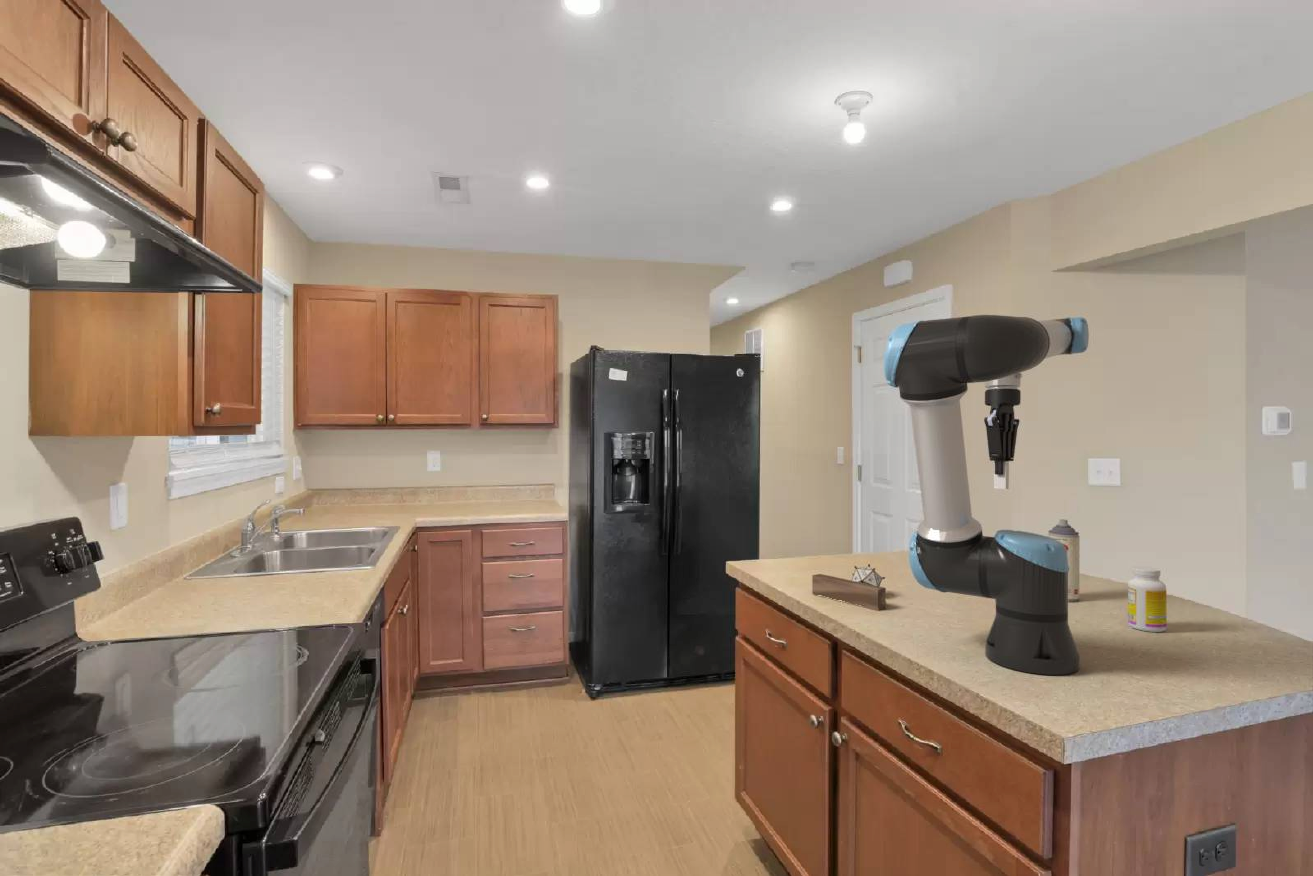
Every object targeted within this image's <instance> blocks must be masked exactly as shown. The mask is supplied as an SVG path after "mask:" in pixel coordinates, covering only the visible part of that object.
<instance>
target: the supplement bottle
mask: <svg viewBox="0 0 1313 876" xmlns="http://www.w3.org/2000/svg"><path fill="white" fill-rule="evenodd" d="M1132 570H1133V571H1132V573H1133V575H1134V578H1131V579H1130V580H1129V581H1128V582H1127V622H1128V625H1129V627H1130V628H1133V629H1134V628H1135V629H1136V630H1139V631H1144V632H1149V633H1161V632H1165V631H1166V630H1167V624H1168V623H1167V621H1168V620H1167V586H1166V584H1165V583H1164V582H1163V581H1161V580H1160V578H1161V569H1159V568H1155V567H1151V566H1150V567H1149V566H1134V567H1133V569H1132Z"/></svg>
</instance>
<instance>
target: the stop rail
mask: <svg viewBox="0 0 1313 876" xmlns="http://www.w3.org/2000/svg"><path fill="white" fill-rule="evenodd" d="M851 580H852V579H851ZM851 580H850V579H846V578H842V577H837V576H832V575H828V574H822V573H818V574H817V573H816V574H812V580H811V581H812V586H811V587H812V589H811V590H812V595H813V594H815V595H814V596H817V595H822V596H825V597H829V598H832V599H831V600H833V599H836V600H835V601H837V600H842V601H845V602H849V603H851V604H850V605H853V604H857V605H861V606H863V607H862V608H865V607H866V609H869V608H870V609H869V610H873V609H875V610H874V611H877V610H879V611H882V610H881V609H883V610H885V609H887V607H886V604H887V603H886V602H887V601H886V600H887V599H886V596H887V595H886V594H887V593H886V591H887V590H886V587H884V586H874V585H870V584H865V583H860V582H856V581H851ZM825 597H824V598H825ZM829 598H828V599H829ZM845 602H844V603H845ZM849 603H848V604H849ZM857 605H856V606H857ZM861 606H860V607H861Z"/></svg>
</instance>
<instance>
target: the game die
mask: <svg viewBox="0 0 1313 876" xmlns="http://www.w3.org/2000/svg"><path fill="white" fill-rule="evenodd" d="M870 566H871V564H870V563H869V564H867V566H863V567H857V565H853V567H854V569H855V570H854V572H853V573H852V579H851V581H856V582H860V583H865V584H870V585H874V586H879V587H881V584H882V580H885V579H886V577H885V576H881V575H880V574H879V573H877V572H876V567H874V568H871V567H870Z"/></svg>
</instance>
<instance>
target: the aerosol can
mask: <svg viewBox="0 0 1313 876" xmlns="http://www.w3.org/2000/svg"><path fill="white" fill-rule="evenodd" d="M1068 522H1069V521H1068V519H1063V518H1062V519H1059V522H1058V523H1057V524H1056V525H1055V526H1053V527H1052V529H1050V530H1048V534H1047V537H1050V538H1053V539H1055V540H1058V541H1059V542H1061V543H1062V544H1063V545H1064V546H1065V547H1066V549H1067V556H1068V566H1069V572H1068V603H1078V601H1079V602H1080V535H1079V532H1077V531H1076V530H1075V528H1073V527H1072V526H1071V525H1070V524H1069V523H1068Z"/></svg>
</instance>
